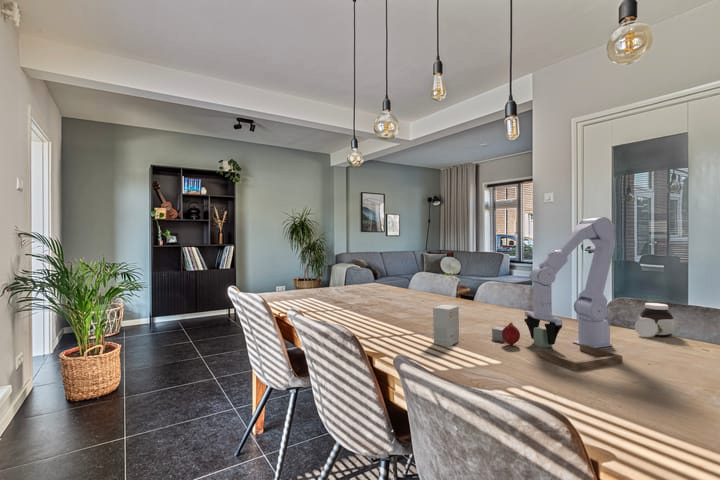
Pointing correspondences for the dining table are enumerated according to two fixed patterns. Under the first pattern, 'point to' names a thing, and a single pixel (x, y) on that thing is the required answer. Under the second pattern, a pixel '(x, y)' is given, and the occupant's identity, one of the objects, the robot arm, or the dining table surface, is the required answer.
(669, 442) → the dining table surface
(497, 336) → the light gray block
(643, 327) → the spread jar
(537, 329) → the sage block
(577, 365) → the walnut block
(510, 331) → the red round fruit
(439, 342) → the small box
